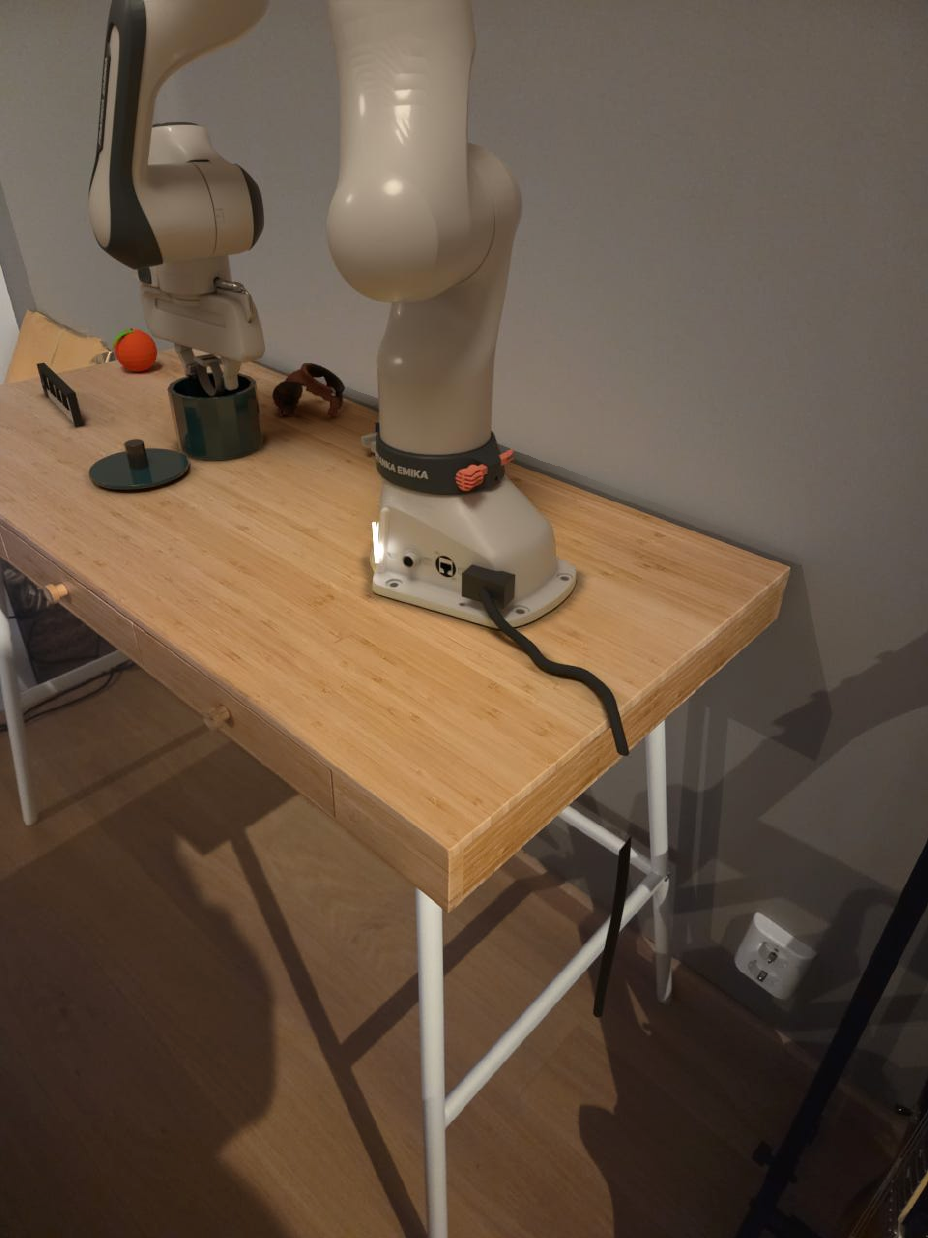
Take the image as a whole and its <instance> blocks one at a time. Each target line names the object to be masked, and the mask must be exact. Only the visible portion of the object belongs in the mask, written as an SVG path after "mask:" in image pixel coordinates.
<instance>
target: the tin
mask: <svg viewBox="0 0 928 1238" xmlns="http://www.w3.org/2000/svg"><path fill="white" fill-rule="evenodd" d="M222 373H224V372H222ZM207 374H208V377H209V380H210V382H211V384H212V386H213V388H214V389H215V380H214V376H213V373H212V372H209V373H207ZM237 379H238V387H237V388H236V389H233V390H227V389H225V391H224V393H223V394H222V395H220V396H215V397H211V396H209V395H208V394H207V393H206V391H205V390H204V388H203V387H202V385H201V383H200V380H199V378H195V379H194V378H190V377H187V376H183V377H180V378H178V379H176V380H174V381H173V382H170V383H169V385H168V386H167V395H168V401H169V406H170V411H171V416H172V421H173V427H174V432H175V438H176V443H177V446H178V449H179V453H181V454H183V455H185V456H186V458H190V459H192V460H193V459H194V460H198V461H206V462H218V461H219V462H220V461H230V460H236V459H239V458H244V457H247V456H249V455H251V454H253V453H256V452H257V451H259V450H260V449H261V448H262V446H263V444H264V433H263V425H262V414H261V409H260V408H261V407H260V399H259V392H258V384H257V383H258V382H257V381H256V380H255V379H254V378H253V377H252V376H249V375H246V374H243V373H240V372H238V375H237Z"/></svg>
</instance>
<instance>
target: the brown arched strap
mask: <svg viewBox="0 0 928 1238" xmlns="http://www.w3.org/2000/svg"><path fill="white" fill-rule="evenodd" d="M316 378H317V379H318V378H319V379H320V378H323V379H324V381H325V384H324V383H322V382H321V381H319V380H317V379H316ZM304 387H305V391H306V392H309V393H311V394H312V395H314V396H316V397H320V398H321V399H322V400H324V401H327V402H329V409H328V411H327V417H328V418H331V419H334V418H335V417H336V415H338V413H339V410H342V407H343V404H344V396H343V393H344V392H345V390H346V387H345V384H344V382H343V381H342V380H341V378H340V377H339V376H338V375H336V374H335V373H333V371H331V370H329V369H328V368H326V367H324V366H321V365H319V364H317V363H313V362H304V363H302V364H301V367H300V368H299V369H297V370H294V371H292V372H290V373H289V374H288V375H287V377H285V380H284V381H281V382H279V383H278V384H277V385H275V387H274V388H273V390H272V394H271V396H272V400H273V403H274V405H275V407H277V412H278V414H279V415H280V416H281V417H284V416H291V417H293V416H295V415H296V408H297V406H298V403H299V401H300V399H301V397H302V396H303V392H304ZM333 393H334V394H333Z"/></svg>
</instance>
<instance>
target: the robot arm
mask: <svg viewBox="0 0 928 1238" xmlns="http://www.w3.org/2000/svg"><path fill="white" fill-rule="evenodd" d="M324 1H325V7H326V13H327V18H328V23H329V29H330V33H331V38H332V43H333V49H334V55H335V62H336V63H335V64H336V70H337V78H338V93H339V95H338V96H339V168H338V179H337V185H336V187H335V188H336V189H335V191H334V193H333V197H332V199H331V202H330V205H329V208H328V211H327V217H326V239H327V245H328V250H329V253H330V256H331V259H332V261H333V263H334V265H335V268H336V269H337V271H338V272H339V274H340V276H341V278H343V280H344V281H345V282H346V283H347V284H348V285H349V286H350V287H351V288H352V289H354V290H355V291H356V292H357V293H359V294H360V295H362V296H364V297H365V298H368V299H370V300H372V301H373V300H374V301H376V302H381V303H390V310H389V315H388V318H387V323H386V326H385V330H384V333H383V336H382V338H381V340H380V343H379V345H378V350H377V353H376V379H377V381H376V382H377V397H378V398H377V402H378V405H377V406H378V422H379V427H380V430H379V431H378V433H377V435H376V450H375V453H374V455H375V456H374V457H375V462H376V471H377V473H378V475H380V488H379V489H380V490H379V501H378V504H379V505H378V514H377V522H376V521H375V522H374V521H373V522H372V532H373V533H372V534H373V545H372V549H371V552H370V555H369V564H370V567H371V569H372V571H373V573H374V574H373V576H372V585H371V586H372V587H371V589H372V592H373V593H375V594H377V595H379V596H382V597H387V598H390V599H392V600H396V601H400V602H404V603H407V604H410V605H413V606H417V607H420V608H424V609H427V610H431V611H434V612H438V613H441V614H445V615H447V616H451V617H455V618H458V619H461V620H464V621H468V622H471V623H475V624H478V625H482V626H485V627H489V628H493V629H497V630H500V631H501V632H502V633H503V634H504V635H505V636H506V637H508V638H509V639H510V640H511V641H513V642H514V643H515V644H517V645H518V646H519V647H520V648H521V649H522V650H524V651H525V652H526V653H527V654H528V655H529V657H530V658H531V659H532V660H533V662H534V663H535V664H536V665H537V666H538V667H540V668H541V669H543V670H545V671H547V672H549V673H551V674H555V675H560V676H565V677H571V678H575V679H579V680H581V681H583V682H584V683H585V684H586V685H588V686H589V687H590V688H592V689H593V690H594V691H595V692H596V694H598V696H599V697H600V698H601V701H602V702H603V704H604V707H605V711H606V714H607V719H608V723H609V727H610V731H611V734H612V738H613V741H614V745H615V750H616V753H617V754H618V755H620V756H621V757H628V756H629V755H630V749H629V748H630V747H629V745H628V741H627V738H626V733H625V729H624V727H623V722H622V719H621V714H620V711H619V706H618V704H617V701H616V698H615V695H614V694H613V692H612V691H611V689H610V688H609V686H608V685H607V684H606V683H605V682H603V680H601V679H600V678H599V677H598V676H596V675H595V674H593V673H592V672H591V671H589V670H587V669H585V668H582V667H579V666H576V665H571V664H565V663H559V662H556V661H553V660H550V659H548V658H547V657H546V656H545V655H544V654H543V653H542V651H541V650H540V649H539V648H538V647H537V646H536V644H535V643H533V642H532V641H531V640H530V639H529V638H528V637H526V636H525V635H524V634H522V633H521V632H520V631H519V630H518V629H516V627H520V626H523V625H527V624H529V623H531V622H533V621H536V620H538V619H540V618H542V617H543V616H545V615H546V614H548V613H549V612H551V611H552V610H554V609H555V608H556V607H558V606H559V605H560V604H561V603H563V602H564V601H565V600H566V599H567V598H568V597H569V596H570V595H571V593H572V592H573V591H574V588H575V586H576V584H577V567H576V566H575V565H573V564H572V563H570V562H569V561H567V560H564V559H563V558H560V556H557V543H556V536H555V531H554V528H553V526H552V524H551V522H550V520H549V519H548V518H547V517H546V516H544V515H543V514H542V512H540V511H539V510H538V508H537V507H536V506H535V505H534V504H533V503H532V502H531V500H529V499H528V497H527V496H525V494H524V493H523V492H522V491H521V490H520V489H519V487H517V486H516V485H515V483H513V481H512V480H511V479H510V478H509V477H508V476H507V475H506V467H505V465H506V464H509V463H510V462H511V461H513V460H514V457H511V456H512V455H513V453H514V452H515V449H514V448H511V449H508V450H506V451H505V452H503V453H501V451H500V448H499V444H498V441H497V437H496V436H495V433H494V432H493V429H492V426H493V423H492V422H493V397H494V395H493V393H494V373H495V371H494V370H495V357H496V348H497V341H498V335H499V329H500V323H501V319H502V314H503V309H504V305H505V299H506V293H507V287H508V280H509V274H510V268H511V262H512V261H511V260H512V254H513V253H512V252H513V247H514V242H515V240H516V239H515V238H516V235H517V232H518V229H519V226H520V222H521V219H522V213H523V197H522V190H521V187H520V184H519V182H518V179H517V177H516V174H515V172H514V171H513V169H512V168H511V167H510V166H509V165H508V164H507V163H506V162H505V160H503V159H502V158H501V157H500V156H498V155H497V154H495V153H493V152H492V151H491V150H489V149H486V148H484V147H482V146H480V145H478V144H475V143H471V142H469V141H468V139H469V138H468V129H469V127H468V126H469V124H468V121H469V96H470V95H469V93H470V79H471V73H472V67H473V64H474V60H475V57H476V49H477V40H476V39H477V38H476V31H475V24H474V17H473V16H474V15H473V8H472V0H324ZM270 3H271V0H111V4H110V8H109V13H108V18H107V25H106V26H107V27H106V33H105V43H104V54H103V64H102V76H101V88H100V101H99V114H98V124H97V125H98V126H97V138H96V140H97V141H96V150H95V158H94V163H93V168H92V173H91V177H90V180H89V188H88V199H87V200H88V201H87V203H88V206H87V209H88V217H89V222H90V225H91V229H92V232H93V235H94V238H95V239H96V242H97V244H98V246H99V247H100V248H101V250H102V251H104V252H106V254H108V255H109V256H110V257H112V258H113V259H114V260H116V261H117V262H119V263H120V264H122V265H124V266H126V267H128V268H129V269H132V270H133V272H134V273H133V274H134V277H135V280H136V281H137V282H138V283H140V284H141V285H140V287H139V295H140V296H139V297H140V300H141V307H142V311H143V316H144V320H145V324H146V327H147V329H148V331H149V332H150V335H152V337H154V338H155V339H158V340H163V341H166V342H170V343H173V346H174V352H175V353H176V354H177V357H178V358H179V360H180V362H181V364H182V365H183V370H184V376H185V377H190V378H194V379H195V378H199V377H198V372H197V362H195V361H194V359H193V358H194V357H195V355H194V353H193V350H192V349H196V350H200V351H203V352H207V353H210V354H213V355H217V356H220V357H221V362H222V364H223V365H225V367H224V373H223V375H219V378H220V382H221V383H220V385H221V387H222V388H224V389H227V390H233V389H236V388H237V387H238V379H237V375H238V373H240V372H239V371H240V369H241V365H242V364H246V363H250V362H254V361H257V360H261V359H262V358H263V356H264V354H265V353H266V352H265V351H266V345H265V339H264V333H263V329H262V323H261V320H260V316H259V312H258V308H257V306H256V303H255V301H254V299H253V296H252V294H251V293H249V291H248V289H246V288H245V285H244V284H243V283H241V282H240V281H239V282H238V281H233V278H232V272H231V265H230V256H232V255H238V254H239V255H240V254H242V253H245V252H247V251H248V252H249V251H251V250H252V249H253V248H254V246H255V245H256V244H257V243H258V241H259V239H260V237H261V235H262V233H263V230H264V227H265V213H264V212H265V211H264V203H263V198H262V193H261V189H260V186H259V184H258V183H257V182H256V180H255V179H254V178H253V177H252V175H250V173H248V171H246V170H245V168H243V167H242V166H241V165H239V164H238V163H232V162H230V161H228V160H227V159H226V158H224V157H223V156H222V155H221V154H220V153H219V152H218V151H216V150H215V148H214V147H213V145H212V144H213V143H212V141H211V139H210V135H209V133H208V130H207V129H206V128H205V127H204V126H202V125H200V124H198V123H194V122H190V121H169V122H168V121H167V122H162V123H160V122H159V123H154V115H155V106H156V100H157V98H158V95H159V92H160V91H161V90H162V87H163V86H164V85H165V83H166V82H167V81H168V80H169V79H170V78H171V77H172V76H173V75H174V74H176V73H177V72H178V71H180V70H181V69H183V68H184V67H186V66H189V65H190V64H192V63H193V62H195V61H197V60H199V59H201V58H204V57H205V56H208V55H211V54H213V53H215V52H218V51H221V50H223V49H226V48H229V47H231V46H233V45H234V44H236V43H238V42H239V41H241V40H243V39H244V38H245V37H246V36H248V35H249V34H250V33H251V32H252V31H253V30H254V29H255V28H256V27H257V26H258V25H259V24H260V22H261V21H262V19H263V18H264V17H265V15H266V13H267V11H268V9H269V6H270ZM376 523H377V524H376ZM632 837H633V835H630V836H629V837H628V838H627V840H626V841H625V843H624V844H622V846H621V847H620V849H619V850H618V858H617V868H616V869H617V870H616V878H615V886H614V894H613V900H612V907H611V913H610V918H609V923H608V928H607V934H606V939H605V943H604V948H603V953H602V958H601V962H600V968H599V972H598V976H597V978H598V979H597V983H596V988H595V995H594V1002H593V1008H592V1015H593V1016H594V1017H595V1018H598V1019H599V1018H602V1016H603V1015H604V1009H605V1003H606V997H607V992H608V986H609V981H610V976H611V971H612V967H613V961H614V957H615V953H616V948H617V944H618V940H619V939H618V938H619V935H620V934H619V933H620V930H621V924H622V920H623V915H624V910H625V904H626V897H627V890H628V884H629V876H630V865H631V854H632Z"/></svg>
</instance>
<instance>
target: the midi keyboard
mask: <svg viewBox="0 0 928 1238" xmlns="http://www.w3.org/2000/svg"><path fill="white" fill-rule="evenodd" d="M36 369H37V371H38V375H39V377H40V383H41V387H42V391H43V394H44V396H45V397H46V398H47V399H50V400H51V401H52V402H53V404H54V405H55V406H56V407H58V409H59V410H60V411H61V412H62V413H63V414H64V415H65V416H66V417H67V418H68V420H70V421H71V422H72V423H73V424H74V427H75V428H79V427H83V426H84V425H85V424H84V420H83V417H82V412H81V409H80V404H79V401H78V397H77V396H78V395H77V393H76V391H74V390H73V388H71V386H69V384H67V383H66V382H65V381H64V380H63V379H62V378H61V377H60V376H59V375H58V374H57V373H56V372H55V371H53V369H52V368H51V367H49V366H48V365H47V364H46V363H45V362H38V363H36Z"/></svg>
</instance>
